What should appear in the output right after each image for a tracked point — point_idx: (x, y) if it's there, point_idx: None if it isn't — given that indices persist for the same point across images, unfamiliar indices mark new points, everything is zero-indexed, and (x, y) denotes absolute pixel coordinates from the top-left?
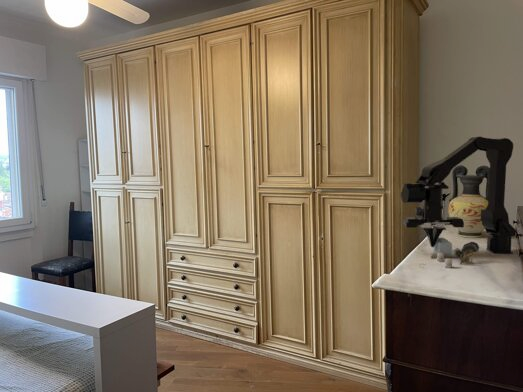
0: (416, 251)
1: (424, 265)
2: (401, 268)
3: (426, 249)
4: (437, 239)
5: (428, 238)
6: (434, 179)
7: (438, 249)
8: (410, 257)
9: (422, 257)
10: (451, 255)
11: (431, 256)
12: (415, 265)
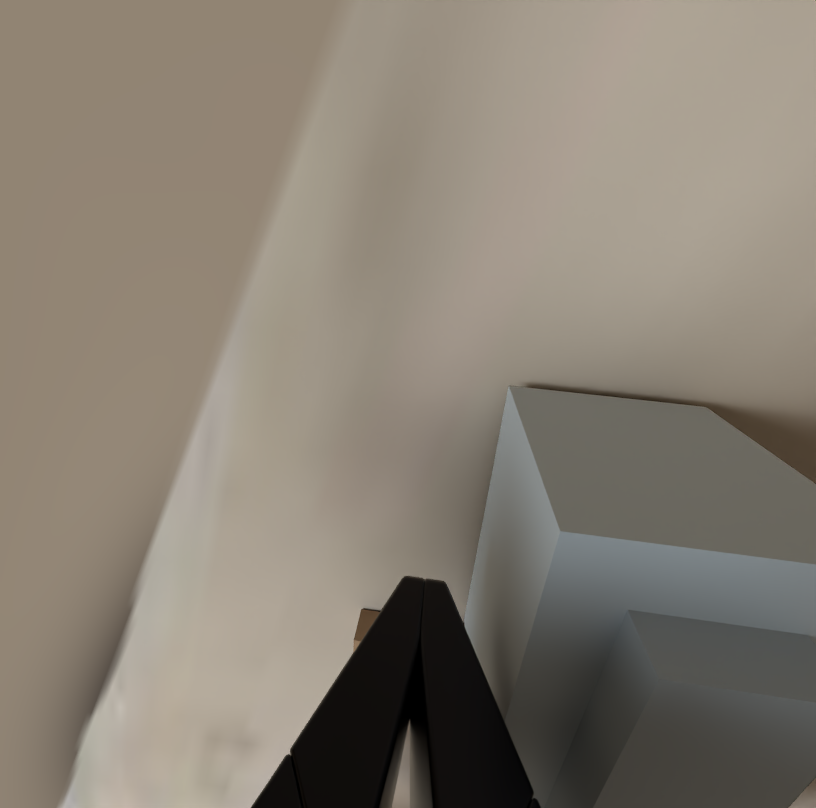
0: (268, 264)
1: (242, 762)
2: (84, 780)
3: (508, 77)
4: (625, 637)
5: (311, 746)
6: None
7: None
8: (154, 565)
9: (279, 580)
10: None
11: (358, 642)
12: (178, 753)
